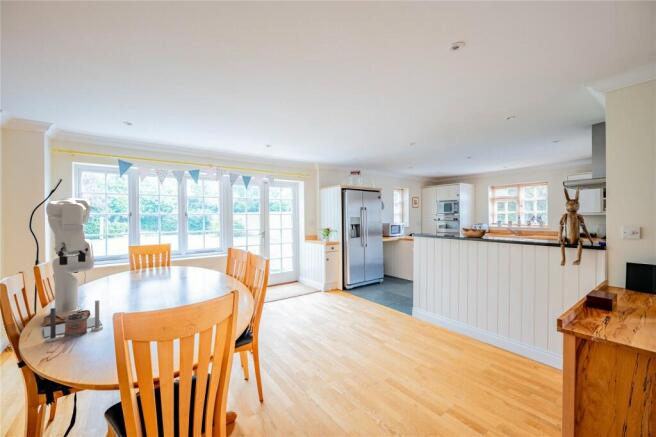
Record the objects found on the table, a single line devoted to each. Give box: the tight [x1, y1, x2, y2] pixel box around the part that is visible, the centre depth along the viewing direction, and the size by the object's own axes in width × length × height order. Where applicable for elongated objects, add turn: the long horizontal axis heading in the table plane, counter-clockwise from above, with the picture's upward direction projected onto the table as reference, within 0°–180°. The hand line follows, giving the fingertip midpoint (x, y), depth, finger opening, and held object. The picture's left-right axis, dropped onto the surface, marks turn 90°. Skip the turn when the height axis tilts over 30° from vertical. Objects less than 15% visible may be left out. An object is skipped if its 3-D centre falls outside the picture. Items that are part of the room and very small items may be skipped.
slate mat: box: [43, 316, 103, 339], centre depth 133 cm, size 14×20×1 cm
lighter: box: [63, 312, 88, 338], centre depth 125 cm, size 8×3×10 cm, turn 114°
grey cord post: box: [90, 300, 104, 332], centre depth 131 cm, size 4×4×14 cm
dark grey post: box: [45, 307, 61, 343], centre depth 120 cm, size 4×4×14 cm
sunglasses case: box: [41, 309, 91, 328], centre depth 141 cm, size 18×7×7 cm, turn 126°
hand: (72, 263), depth 132 cm, fingers open, 9 cm apart
